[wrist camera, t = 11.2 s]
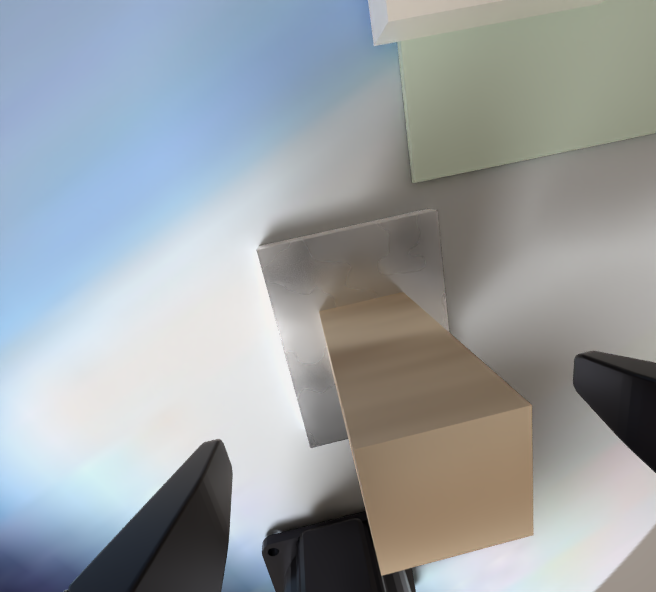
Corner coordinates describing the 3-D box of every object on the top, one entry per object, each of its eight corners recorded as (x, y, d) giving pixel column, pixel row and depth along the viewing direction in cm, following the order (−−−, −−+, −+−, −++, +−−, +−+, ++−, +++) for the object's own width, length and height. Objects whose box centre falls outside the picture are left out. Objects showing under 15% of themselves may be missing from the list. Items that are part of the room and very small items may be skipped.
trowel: (445, 397, 14) (600, 599, 7) (309, 430, 14) (329, 674, 7) (425, 208, 12) (631, 233, 5) (259, 245, 12) (212, 330, 4)
